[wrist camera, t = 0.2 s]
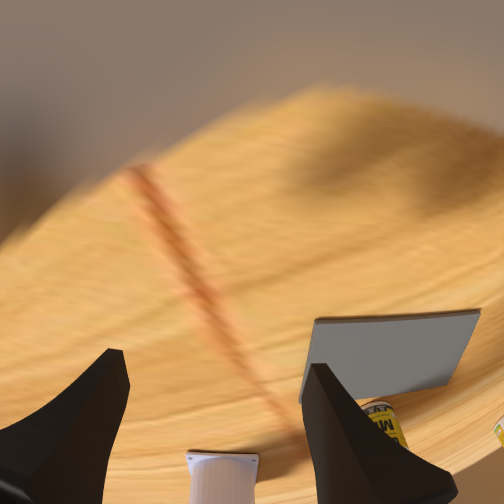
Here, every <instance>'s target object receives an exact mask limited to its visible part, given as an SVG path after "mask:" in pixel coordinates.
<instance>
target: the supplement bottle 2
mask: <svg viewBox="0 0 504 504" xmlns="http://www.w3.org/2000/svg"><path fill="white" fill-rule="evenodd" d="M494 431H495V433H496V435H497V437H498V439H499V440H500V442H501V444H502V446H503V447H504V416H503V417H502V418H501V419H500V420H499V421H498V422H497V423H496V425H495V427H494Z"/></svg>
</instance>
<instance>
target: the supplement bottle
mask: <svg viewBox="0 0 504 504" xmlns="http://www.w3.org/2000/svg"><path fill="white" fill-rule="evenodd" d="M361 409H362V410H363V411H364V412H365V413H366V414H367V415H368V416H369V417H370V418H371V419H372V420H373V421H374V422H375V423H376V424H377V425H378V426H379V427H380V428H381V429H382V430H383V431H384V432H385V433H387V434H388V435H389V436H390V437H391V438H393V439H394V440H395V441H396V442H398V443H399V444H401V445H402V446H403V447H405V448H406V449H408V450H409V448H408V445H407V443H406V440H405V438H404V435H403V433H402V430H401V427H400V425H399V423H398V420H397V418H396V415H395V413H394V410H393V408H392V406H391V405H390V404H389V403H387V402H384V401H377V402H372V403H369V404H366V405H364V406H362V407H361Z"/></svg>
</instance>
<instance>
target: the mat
mask: <svg viewBox="0 0 504 504" xmlns="http://www.w3.org/2000/svg"><path fill="white" fill-rule="evenodd" d="M480 314H481V313H480V312H479V311H469V312H458V313H447V314H435V315H422V316H407V317H389V318H368V319H339V320H314V326H313V331H312V337H311V342H310V347H309V352H308V357H307V362H306V367H305V372H304V377H303V382H302V386H301V391H300V396H299V404H302V403H301V396H302V393H303V389H304V386H305V382H306V379H307V375H308V372H309V368H310V364H311V363H326V364H327V365H328V366H329V367H330V369H331V370H332V372H333V373H334V374H335V376H336V377H337V378H338V380H339V381H340V383H341V384H342V385H343V386H344V388H345V389H346V390H347V392H348V393H349V394H350V395H351V397H352V398H353V399H354V400H357V399H365V398H373V397H381V396H388V395H395V394H401V393H407V392H413V391H418V390H424V389H429V388H434V387H439V386H444V385H447V383H448V381H449V380H450V378H451V376H452V374H453V372H454V370H455V368H456V366H457V364H458V362H459V361H460V359H461V356H462V354H463V352H464V350H465V348H466V346H467V344H468V342H469V340H470V338H471V335H472V333H473V331H474V329H475V326H476V324H477V322H478V319H479V317H480Z"/></svg>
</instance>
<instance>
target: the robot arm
mask: <svg viewBox="0 0 504 504" xmlns="http://www.w3.org/2000/svg"><path fill="white" fill-rule="evenodd" d="M129 390H130V382H129V378H128V374H127V369H126V365H125V360H124V355H123V350H117V349H110V348H108V349H107V350H106V351H105V352H104V353H103V354H102V355H101V356H100V357H99V358H98V359H97V360H96V361H95V362H94V363H93V364H92V365H91V366H90V367H89V368H88V369H87V370H86V371H85V372H83V373H82V374H81V375H80V376H79V377H78V378H77V379H76V380H75V381H74V382H73V383H72V384H71V385H70V386H68V387H67V388H66V389H65V390H64V391H63V392H61V393H60V394H59V395H58V396H57V397H55V398H54V399H53V400H52V401H50V402H49V403H48V404H46V405H45V406H43V407H42V408H40V409H39V410H37V411H36V412H34V413H32V414H31V415H29V416H27V417H26V418H24V419H22V420H20V421H18V422H16V423H14V424H12V425H10V426H8V427H6V428H4V429H1V430H0V504H102V498H103V490H104V483H105V477H106V471H107V466H108V461H109V457H110V453H111V450H112V447H113V444H114V441H115V438H116V435H117V432H118V429H119V426H120V423H121V420H122V417H123V414H124V411H125V408H126V404H127V400H128V395H129ZM301 403H302V413H303V421H304V426H305V430H306V435H307V439H308V443H309V448H310V452H311V456H312V461H313V465H314V471H315V478H316V488H317V499H318V504H448V503H449V502H451V500H453V499H454V498H455V497H456V496H457V494H458V490H457V487H456V484H455V482H454V480H453V477H452V475H451V474H450V472H448V471H445V470H443V469H441V468H439V467H437V466H435V465H433V464H431V463H429V462H427V461H425V460H423V459H422V458H420V457H418V456H417V455H415V454H413V453H412V452H410V451H409V450H408V449H406V448H405V447H403V446H402V445H401V444H399V443H398V442H396V441H395V440H394V439H393V438H391V437H390V436H389V435H388V434H387V433H385V432H384V431H383V430H382V429H381V428H380V427H379V426H378V425H377V424H376V423H375V422H374V421H373V420H372V419H371V418H370V417H369V416H368V415H367V414H366V413H365V412H364V411H363V410H362V409H361V407H360V406H359V405H358V404H357V403H356V401H355V400H354V399H353V398H352V397H351V395H350V394H349V393H348V392H347V390H346V389H345V388H344V386H343V385H342V384H341V383H340V381H339V380H338V378H337V377H336V376H335V374H334V373H333V372H332V370H331V369H330V367H329V366H328V365H327V364H326V363H311V364H310V368H309V372H308V375H307V379H306V382H305V386H304V389H303V393H302V396H301ZM186 460H187V464H188V468H189V471H190V475H191V486H190V497H189V504H255V490H254V487H255V483H256V476H257V468H258V461H259V456H258V455H257V454H220V453H200V452H186Z"/></svg>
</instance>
